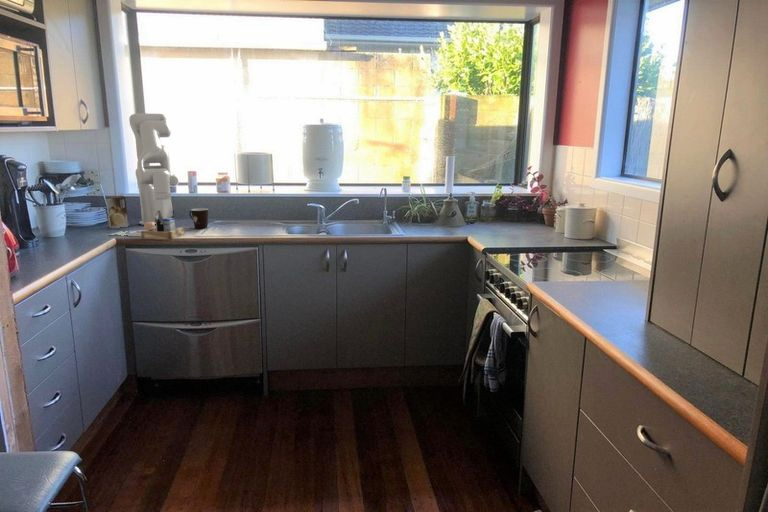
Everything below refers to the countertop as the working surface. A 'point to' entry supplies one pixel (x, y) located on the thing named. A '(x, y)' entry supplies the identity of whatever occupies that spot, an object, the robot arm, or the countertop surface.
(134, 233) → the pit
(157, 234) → the cubby
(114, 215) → the coffee box
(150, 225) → the peach rounded capsule
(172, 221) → the medicine box
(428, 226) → the countertop surface
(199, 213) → the coffee mug
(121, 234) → the board
